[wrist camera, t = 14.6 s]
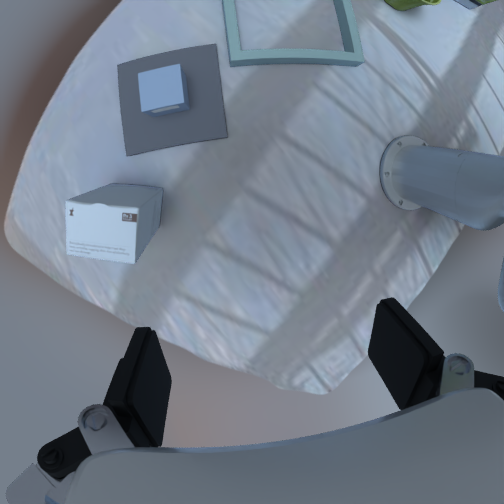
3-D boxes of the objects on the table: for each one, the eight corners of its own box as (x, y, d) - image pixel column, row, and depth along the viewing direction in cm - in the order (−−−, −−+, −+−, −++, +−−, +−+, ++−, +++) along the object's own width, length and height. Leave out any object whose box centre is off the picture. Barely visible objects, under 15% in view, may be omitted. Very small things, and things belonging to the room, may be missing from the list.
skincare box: (110, 220, 38) (62, 257, 24) (112, 180, 36) (60, 199, 22) (163, 227, 39) (134, 269, 25) (167, 185, 37) (137, 207, 23)
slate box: (185, 76, 31) (179, 63, 25) (189, 109, 33) (184, 102, 27) (149, 83, 31) (137, 73, 25) (153, 117, 32) (141, 112, 27)
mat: (215, 46, 31) (215, 43, 30) (227, 137, 36) (227, 137, 35) (119, 66, 30) (117, 65, 29) (128, 156, 35) (126, 156, 34)
